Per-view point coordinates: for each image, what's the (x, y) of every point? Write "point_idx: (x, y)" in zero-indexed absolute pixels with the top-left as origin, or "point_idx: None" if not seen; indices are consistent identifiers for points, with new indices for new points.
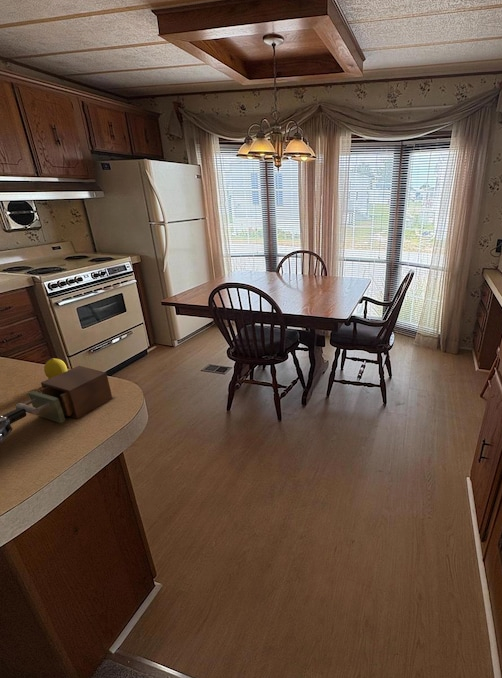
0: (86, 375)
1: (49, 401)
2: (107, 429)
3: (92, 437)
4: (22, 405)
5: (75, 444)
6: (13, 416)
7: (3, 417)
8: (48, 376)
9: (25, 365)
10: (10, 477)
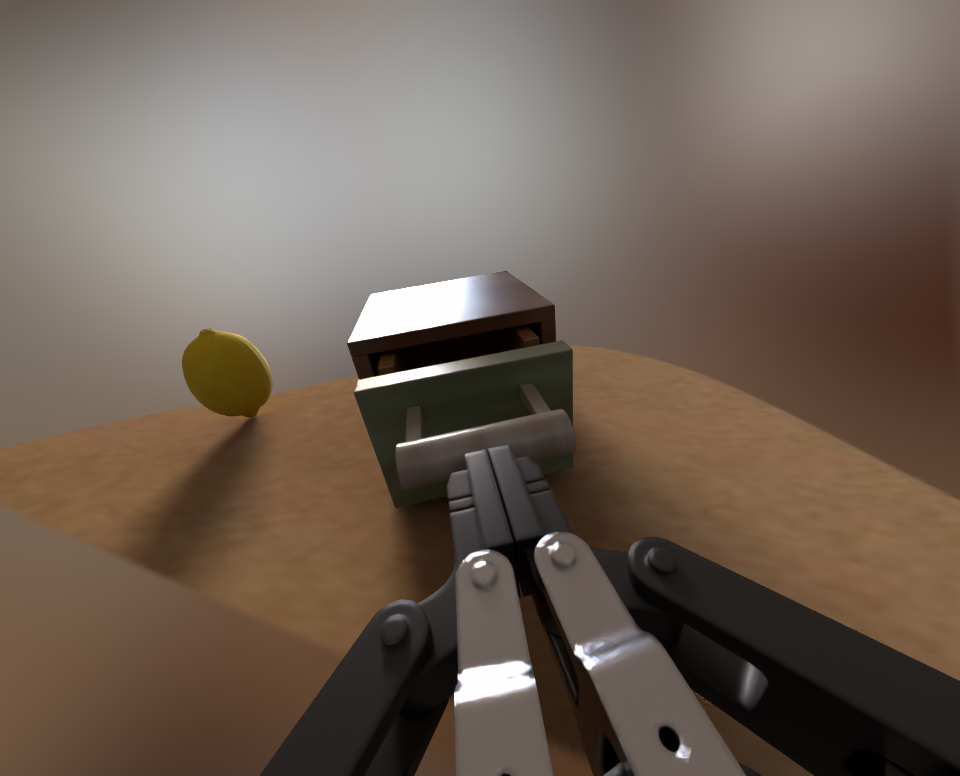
0: (470, 287)
1: (535, 371)
2: (722, 406)
3: (762, 441)
4: (449, 440)
5: (798, 489)
6: (555, 508)
7: (561, 549)
8: (224, 400)
9: (30, 446)
10: None
